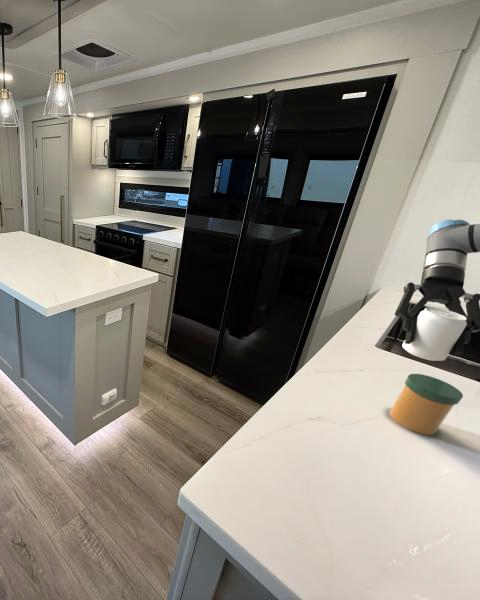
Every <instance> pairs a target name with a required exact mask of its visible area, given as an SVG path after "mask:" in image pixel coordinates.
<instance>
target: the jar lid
mask: <svg viewBox="0 0 480 600" xmlns="http://www.w3.org/2000/svg"><path fill="white" fill-rule="evenodd" d="M404 384H405V385H406V386H407V387H408V388H409V389H411V390H412V391H413V392H415V393H417V394H418V395H420V396H422V397H425V398H427V399H429V400H432V401H435V402H438V403H442V404H447V405H454V406H455V405H458V404H459V403H460V401H461V400H462V399H463V397H464V395H463V393H462V391H461V390H460V389H458V388H457V387H455V386H453V385H452V384H450V383H448V382H446V381H444V380H441V379H439V378H436V377H433V376H430V375H427V374H421V373H410V374H408V375H407V377H406V379H405V381H404Z"/></svg>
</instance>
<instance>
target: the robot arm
mask: <svg viewBox="0 0 480 600" xmlns="http://www.w3.org/2000/svg"><path fill="white" fill-rule="evenodd" d="M428 232H429V233H428V235H427V237H426V247H425V255H424V261H423V268H422V273H421V278H420V279H421V280H420V284H415V283H414V282H412V281H411V282H408V283H407V284H406V285H404V287H403V295H402V297H401V299H400V300H399V301H400V302H399V304H398V305H397V308H396V310H395V311H394V316H395V317H400V318H401V321H402V327H401V328H402V331H406V332H405V338H404V339H405V340H404V341H405V344H410V343H412V342H413V341H414V338H415V332H416V325H417V317H415V316H416V314H418V313H419V312H420V311H421V310H422V308H423V307H425V305H426V304H427V303H428V302H429V303H437V304H439V305H444V307H445V308H446V310H448V311H452V312H455V313H458V314H460V315H463V316H465V317H466V318H467V320H466V322H467V325H466V327H465V329H464V330H463V332H462V333H461V335H460V337H459V338H458V340H457V341H456V343H455V345H454V346H453V348H452V350H451V351H452V352H451V355H452V356H456V357H458V356H460V355H463V354H464V352H465V346H466V344H468V343H470V342H471V337H472V333H478V332H479V331H480V293H474V294H472V293H469V292H466V290H465V289H464V284H465V277H466V269H467V259H468V254H474V253H480V223H475V224H470V223H469V222H468V221H467V220H464V219H451V218H450V219H444V220H441V221H439V222H436V223H435V224H433V225H432V226H431V227H430V229H429V231H428ZM417 291H418V292H419V293H420V294H421V296H422V297H421V298H420V299H419V300H418V302H416V303H415V305H413V307H411V308H410V310H409V311H407V308H408V306H409V304H410V302H411V300H412V298H413V295H414V293H416V292H417ZM461 298H462V299H463V300H464V301H463V302H464V303H465V310H466V311H465V310H464V308H463V306H462V305H461V304H462V301H461V300H460V299H461Z"/></svg>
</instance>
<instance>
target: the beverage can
mask: <svg viewBox="0 0 480 600" xmlns="http://www.w3.org/2000/svg"><path fill="white" fill-rule="evenodd" d="M418 313H419V314H418V315H417V317H416V318H417V325H416V332H415V338H414V341H413V342H412V343H410V344H405V340H404V341H403V342H402V345H401V346H402V348H403V350H405V351H406V352H407V353H409V354H411V355H412V356H415V357H417V358H420V359H423V360H427V361H432V362H435V361H436V362H442V361H445V360H446V359H447V358H448V356H449V354H450V353H451V351H452V350H453V346H454V345H455V343H456V341H457V340H458V338H459V337H460V335H461V333H462V332H463V330H464V329H465V327H466V325H467V322H466V320H467V318H466V317H465V316H463V315H460V314H458V313H455V312H452V311H449V309H445V308H439V307H432V306H431V307H430V306H429V307H425V308H424V310H420V311H419V312H418Z"/></svg>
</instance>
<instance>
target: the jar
mask: <svg viewBox="0 0 480 600" xmlns="http://www.w3.org/2000/svg"><path fill="white" fill-rule="evenodd" d="M454 406H455V405H447V404H442V403H438V402H435V401H432V400H429V399H427V398H425V397H422V396H420V395H418V394H417V393H415V392H413V391H412V390H411V389H409V388H408V387H407V386H406V384H405V385H404V387H403V388H402V390H401V392H400V394H399V395H398V396H397V399H396V400H395V402H394V403H393V406H392V407H391V409H390V410H389V415H390V417H391V418H392V420H394V421H395V422H396V423H397V424H399V425H400V426H402V427H404V428H405V429H407V430H410V431H412V432H415V433H417V434H421V435H425V436H431V435H434V434H436V432H437V431H438V429H439V428H440V427H441V425H442V424H443V422H444V421H445V419H446V418H447V416H448V415H449V413H450V412H451V410H452V409H453V407H454Z"/></svg>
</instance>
